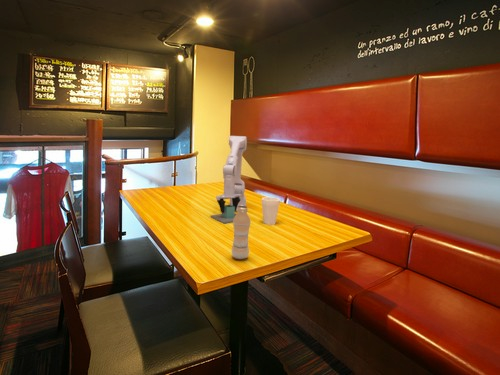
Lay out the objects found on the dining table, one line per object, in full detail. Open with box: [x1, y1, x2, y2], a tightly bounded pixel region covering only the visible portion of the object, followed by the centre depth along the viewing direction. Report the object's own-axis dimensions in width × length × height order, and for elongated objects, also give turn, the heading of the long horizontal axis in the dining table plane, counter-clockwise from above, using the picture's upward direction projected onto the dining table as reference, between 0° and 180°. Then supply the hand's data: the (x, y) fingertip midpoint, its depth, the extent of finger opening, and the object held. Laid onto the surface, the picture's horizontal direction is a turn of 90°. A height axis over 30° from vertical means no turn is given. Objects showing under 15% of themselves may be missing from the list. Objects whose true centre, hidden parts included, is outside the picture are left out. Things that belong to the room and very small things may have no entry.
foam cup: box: [261, 196, 281, 226], centre depth 167 cm, size 10×9×13 cm
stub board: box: [209, 213, 237, 225], centre depth 173 cm, size 14×14×4 cm
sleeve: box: [221, 204, 236, 219], centre depth 172 cm, size 5×5×6 cm
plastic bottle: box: [231, 205, 252, 260], centre depth 119 cm, size 6×7×20 cm
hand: (228, 211), depth 172 cm, fingers open, 7 cm apart
